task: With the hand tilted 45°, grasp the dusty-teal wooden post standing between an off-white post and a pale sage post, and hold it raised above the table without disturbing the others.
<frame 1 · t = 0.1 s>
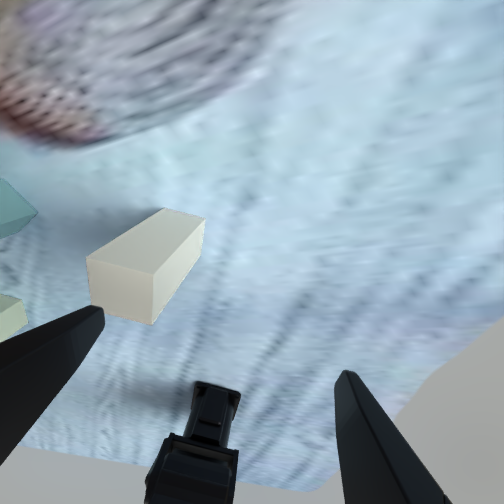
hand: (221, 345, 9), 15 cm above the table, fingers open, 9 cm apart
sage post: (10, 307, 32), on the table
off-white post: (183, 232, 23), on the table
teal post: (11, 206, 25), on the table
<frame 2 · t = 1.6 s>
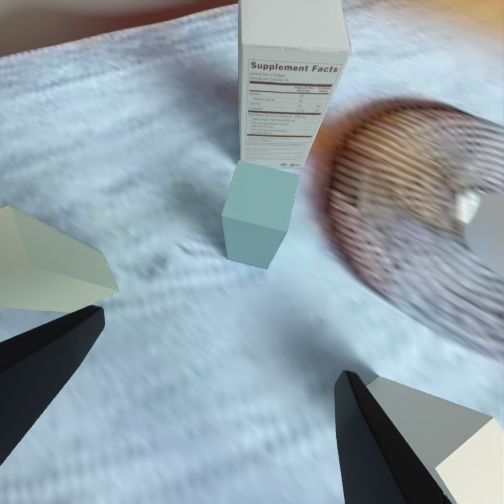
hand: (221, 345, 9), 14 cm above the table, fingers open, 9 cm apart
sage post: (90, 282, 22), on the table
supplement box: (269, 144, 28), on the table
off-white post: (375, 411, 21), on the table
teal post: (252, 245, 24), on the table
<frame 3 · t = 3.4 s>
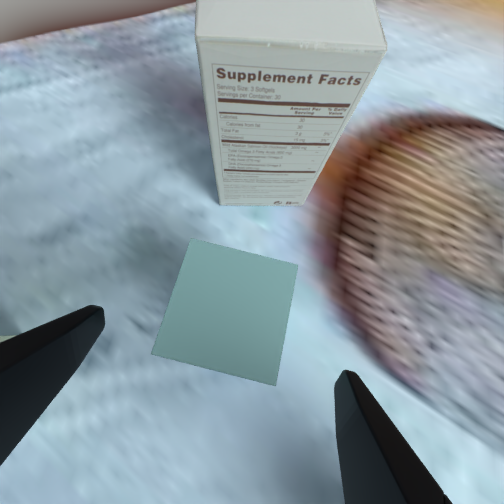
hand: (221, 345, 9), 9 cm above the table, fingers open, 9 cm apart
supplement box: (259, 173, 22), on the table
teal post: (233, 318, 18), on the table
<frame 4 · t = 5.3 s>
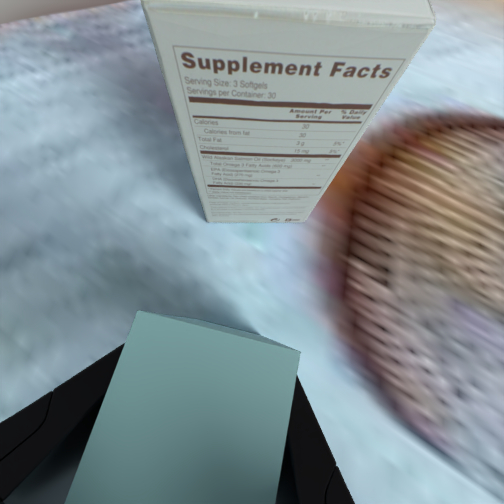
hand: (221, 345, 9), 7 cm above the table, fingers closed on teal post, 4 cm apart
supplement box: (254, 183, 19), on the table
teal post: (221, 360, 15), on the table, touching gripper
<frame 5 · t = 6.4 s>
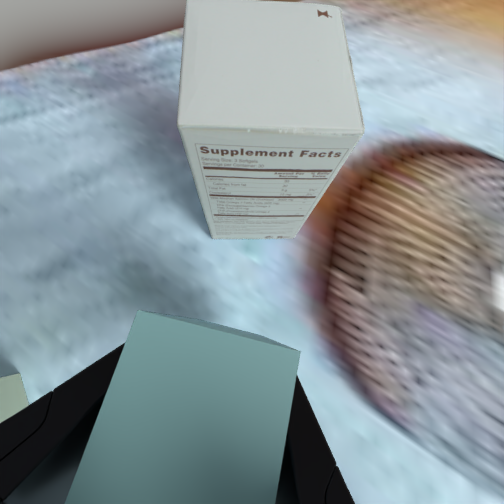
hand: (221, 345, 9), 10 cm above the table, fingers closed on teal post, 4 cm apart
supplement box: (252, 204, 22), on the table
teal post: (221, 360, 15), point 3 cm above the table, touching gripper
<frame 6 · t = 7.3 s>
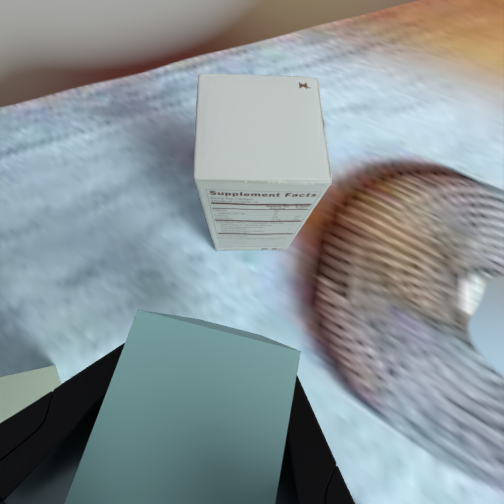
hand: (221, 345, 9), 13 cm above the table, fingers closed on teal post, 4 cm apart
sage post: (36, 402, 19), on the table
supplement box: (250, 219, 25), on the table
teal post: (221, 360, 15), point 7 cm above the table, touching gripper
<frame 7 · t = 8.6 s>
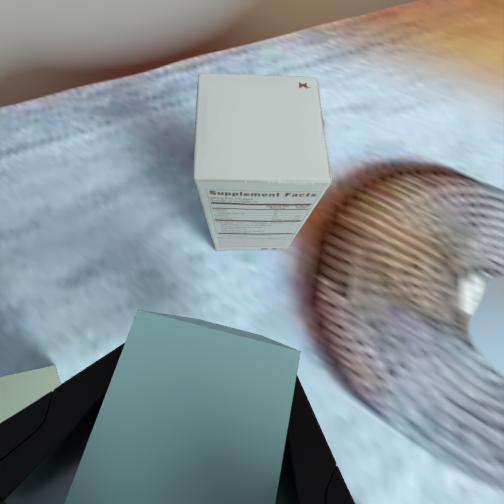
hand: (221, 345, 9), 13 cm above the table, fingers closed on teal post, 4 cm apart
sage post: (37, 402, 19), on the table
supplement box: (250, 219, 25), on the table
teal post: (221, 360, 15), point 7 cm above the table, touching gripper
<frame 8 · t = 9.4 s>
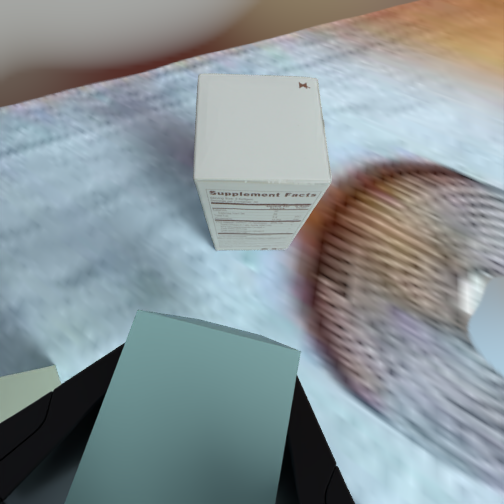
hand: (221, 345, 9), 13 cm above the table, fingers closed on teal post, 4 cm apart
sage post: (37, 402, 19), on the table
supplement box: (250, 219, 25), on the table
teal post: (221, 360, 15), point 7 cm above the table, touching gripper
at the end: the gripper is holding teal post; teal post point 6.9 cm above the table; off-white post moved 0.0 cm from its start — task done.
